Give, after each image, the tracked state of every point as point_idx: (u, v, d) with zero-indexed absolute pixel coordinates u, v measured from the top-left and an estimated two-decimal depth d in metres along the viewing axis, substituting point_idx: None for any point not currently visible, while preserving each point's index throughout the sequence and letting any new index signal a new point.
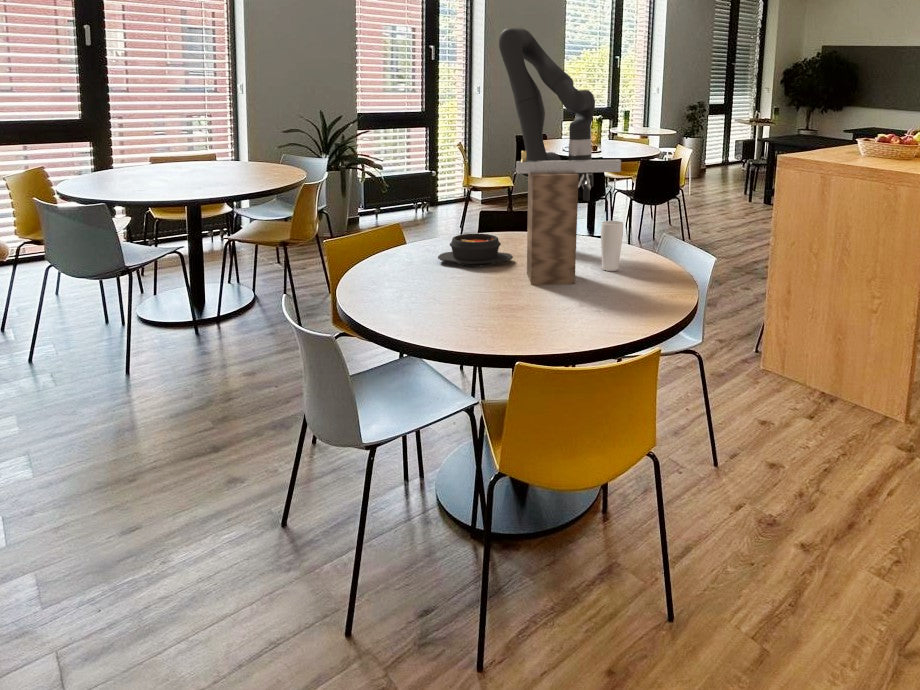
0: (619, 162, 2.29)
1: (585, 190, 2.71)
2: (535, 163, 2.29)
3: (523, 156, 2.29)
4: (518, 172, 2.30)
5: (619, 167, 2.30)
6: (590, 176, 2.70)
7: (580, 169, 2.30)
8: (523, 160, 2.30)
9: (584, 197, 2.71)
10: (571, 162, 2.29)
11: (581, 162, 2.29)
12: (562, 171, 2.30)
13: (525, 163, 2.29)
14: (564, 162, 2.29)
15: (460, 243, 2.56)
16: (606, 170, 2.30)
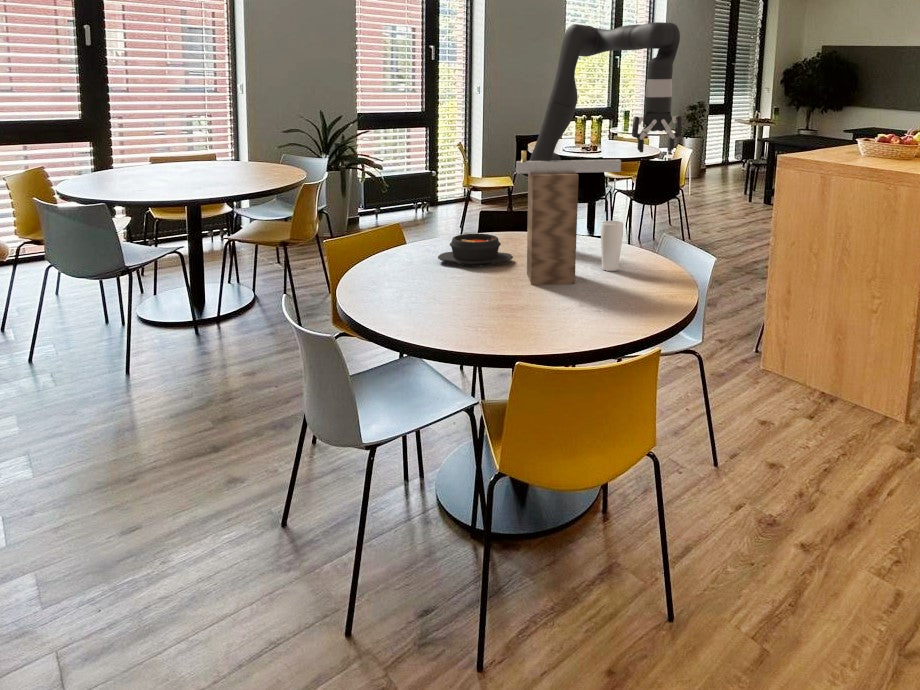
0: (619, 162, 2.29)
1: None
2: (535, 163, 2.29)
3: (523, 156, 2.29)
4: (518, 172, 2.30)
5: (619, 167, 2.30)
6: None
7: (580, 169, 2.30)
8: (523, 160, 2.30)
9: None
10: (571, 162, 2.29)
11: (581, 162, 2.29)
12: (562, 171, 2.30)
13: (525, 163, 2.29)
14: (564, 162, 2.29)
15: (460, 243, 2.56)
16: (606, 170, 2.30)
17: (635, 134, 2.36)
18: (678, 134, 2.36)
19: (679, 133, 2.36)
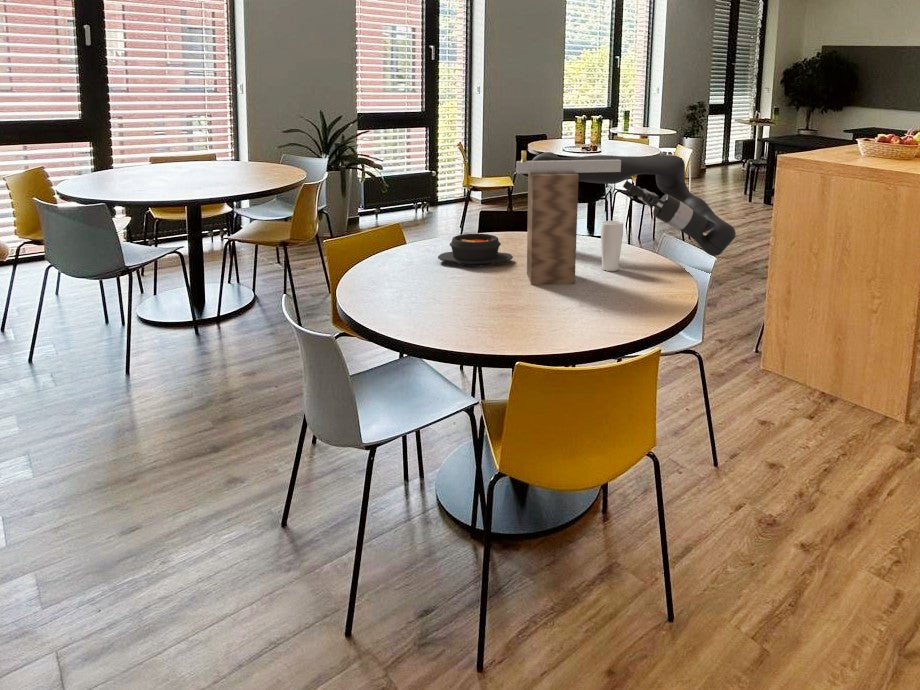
0: (619, 162, 2.29)
1: None
2: (535, 163, 2.29)
3: (523, 156, 2.29)
4: (518, 172, 2.30)
5: (619, 167, 2.30)
6: None
7: (580, 169, 2.30)
8: (523, 160, 2.30)
9: (628, 184, 2.37)
10: (571, 162, 2.29)
11: (581, 162, 2.29)
12: (562, 171, 2.30)
13: (525, 163, 2.29)
14: (564, 162, 2.29)
15: (460, 243, 2.56)
16: (606, 170, 2.30)
17: (639, 187, 2.40)
18: (649, 193, 2.28)
19: (650, 194, 2.28)
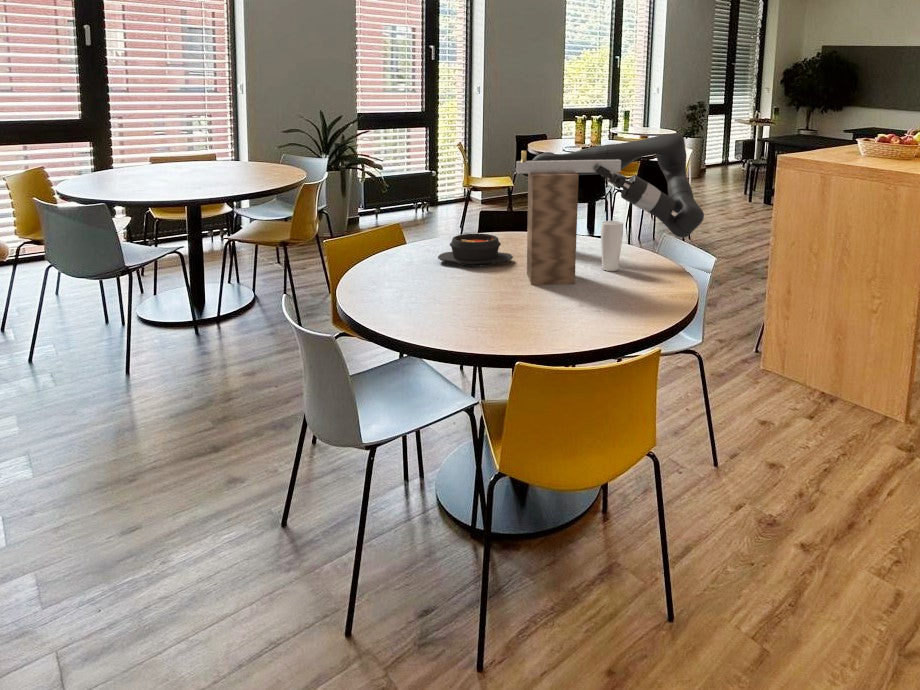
0: (619, 162, 2.29)
1: None
2: (535, 163, 2.29)
3: (523, 156, 2.29)
4: (518, 172, 2.30)
5: (619, 167, 2.30)
6: None
7: (580, 169, 2.30)
8: (523, 160, 2.30)
9: None
10: (571, 162, 2.29)
11: (581, 162, 2.29)
12: (562, 171, 2.30)
13: (525, 163, 2.29)
14: (564, 162, 2.29)
15: (460, 243, 2.56)
16: None
17: None
18: (616, 174, 2.26)
19: (617, 174, 2.26)
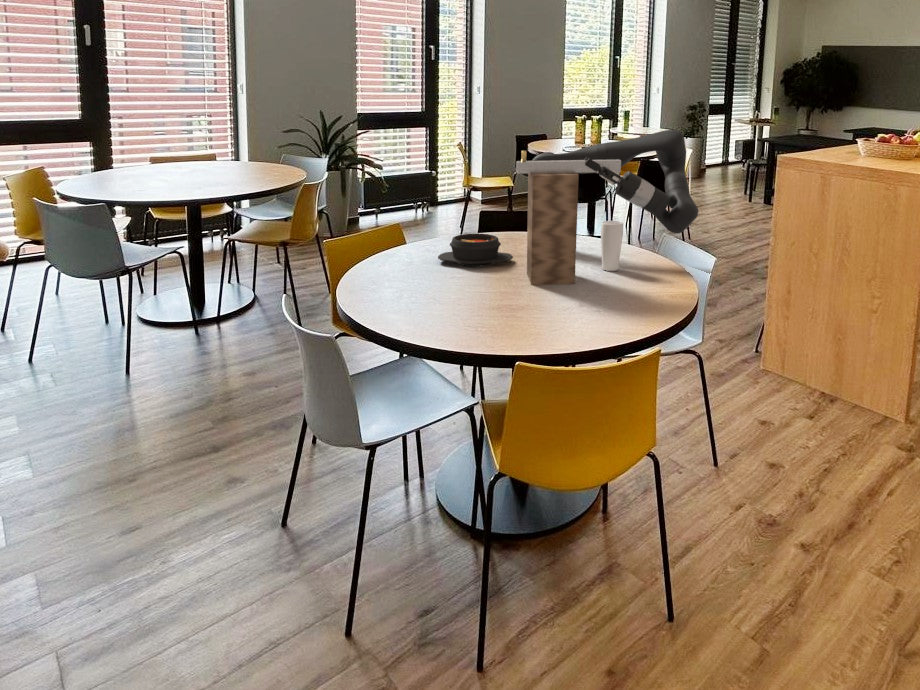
0: (619, 162, 2.29)
1: None
2: (535, 163, 2.29)
3: (523, 156, 2.29)
4: (518, 172, 2.30)
5: (619, 167, 2.30)
6: None
7: (580, 169, 2.30)
8: (523, 160, 2.30)
9: None
10: (571, 162, 2.29)
11: (581, 162, 2.29)
12: (562, 171, 2.30)
13: (525, 163, 2.29)
14: (564, 162, 2.29)
15: (460, 243, 2.56)
16: None
17: None
18: (605, 167, 2.28)
19: None
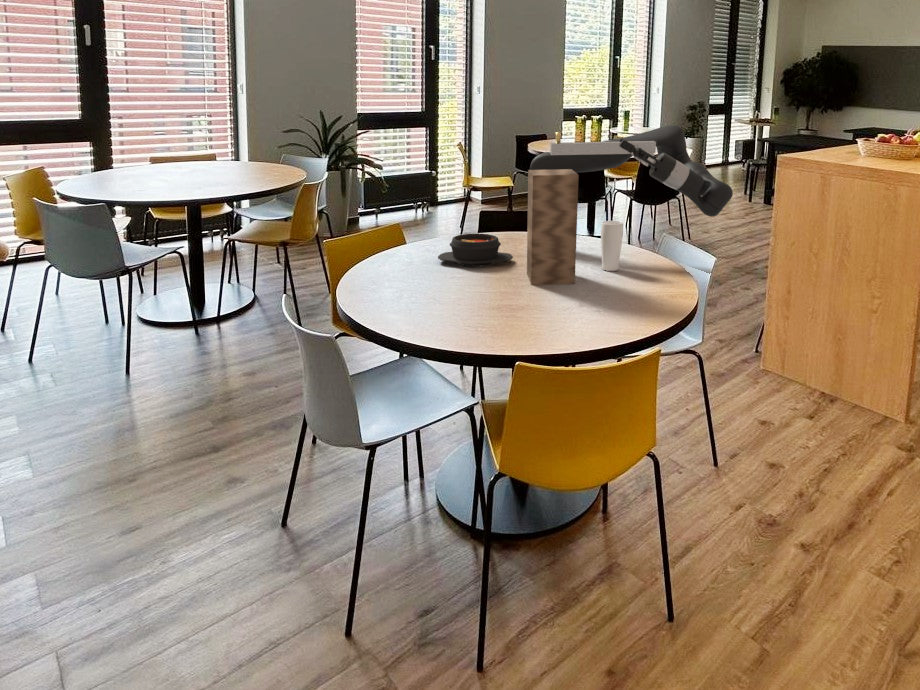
0: (654, 143, 2.28)
1: None
2: (569, 144, 2.28)
3: (557, 137, 2.28)
4: (552, 154, 2.29)
5: (654, 148, 2.29)
6: None
7: (614, 151, 2.29)
8: (557, 141, 2.29)
9: None
10: (606, 143, 2.28)
11: (616, 143, 2.28)
12: (596, 153, 2.29)
13: (560, 144, 2.28)
14: (599, 143, 2.28)
15: (460, 243, 2.56)
16: None
17: None
18: (640, 148, 2.26)
19: (641, 149, 2.26)
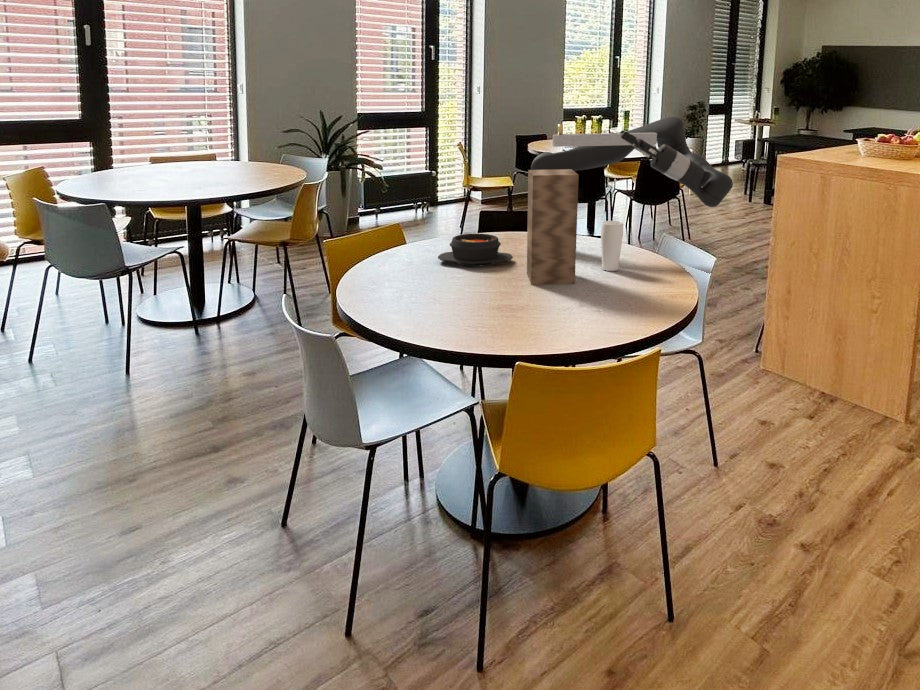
0: (655, 135, 2.31)
1: None
2: (572, 136, 2.31)
3: (560, 129, 2.31)
4: (555, 145, 2.32)
5: (655, 140, 2.32)
6: None
7: (616, 142, 2.32)
8: (560, 133, 2.31)
9: None
10: (607, 135, 2.31)
11: (617, 135, 2.31)
12: (598, 144, 2.32)
13: (562, 136, 2.31)
14: (600, 135, 2.31)
15: (460, 243, 2.56)
16: None
17: None
18: None
19: (642, 140, 2.29)
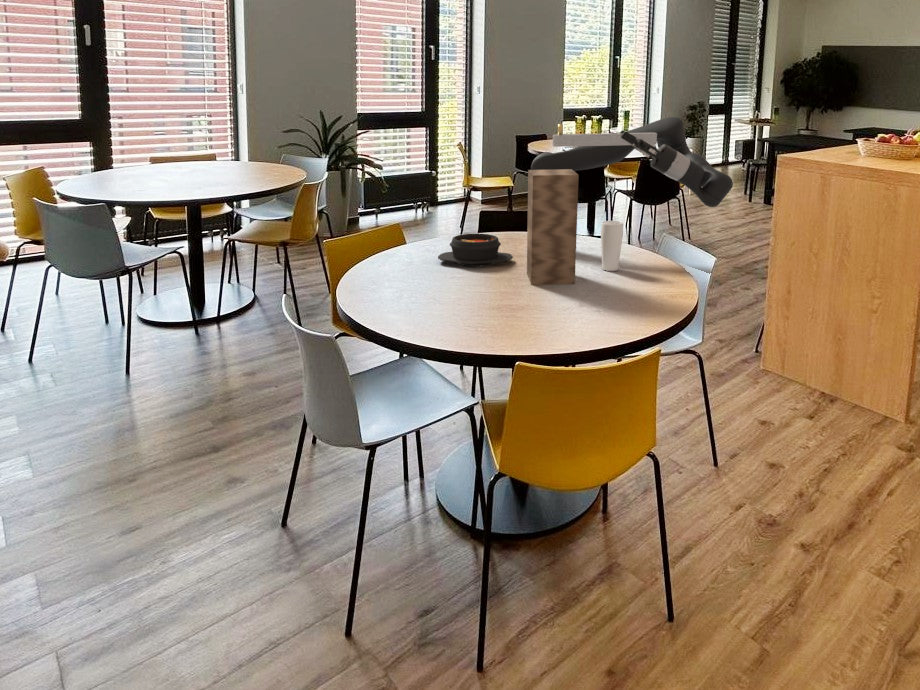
0: (655, 135, 2.31)
1: None
2: (572, 136, 2.31)
3: (560, 129, 2.31)
4: (555, 145, 2.32)
5: (655, 140, 2.32)
6: None
7: (616, 142, 2.32)
8: (560, 133, 2.31)
9: None
10: (607, 135, 2.31)
11: (617, 135, 2.31)
12: (598, 144, 2.32)
13: (562, 136, 2.31)
14: (600, 135, 2.31)
15: (460, 243, 2.56)
16: None
17: None
18: None
19: (642, 140, 2.29)
